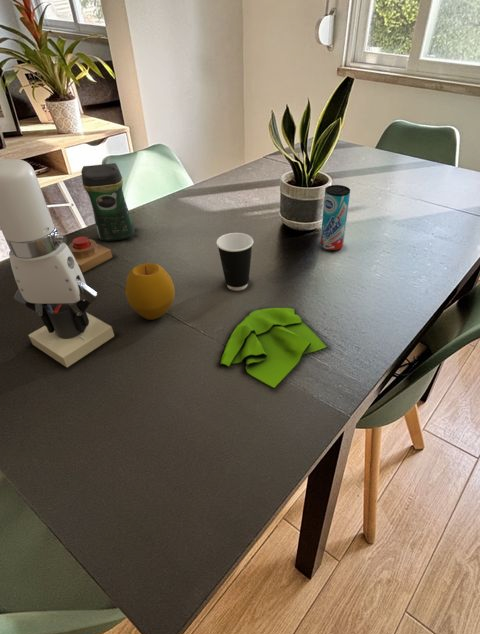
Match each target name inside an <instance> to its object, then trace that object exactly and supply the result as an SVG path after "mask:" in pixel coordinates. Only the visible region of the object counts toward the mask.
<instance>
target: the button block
mask: <svg viewBox="0 0 480 634" xmlns="http://www.w3.org/2000/svg"><path fill="white" fill-rule="evenodd" d="M88 240H89V243H90V247H88V248H86V249H81V250H78V249H75V247H74V244H73V241H72V242H70V243H69V245H67V246H68V248H69V249H70V251H71V252H72V254H73V256H74V258H75V260H76V261H77V264H78V266H79V268H80V270H81V272H82V274H83V273H86V272H87V271H89V270H91V269H93V268H95V267H97V266H99V265H101V264H103V263H104V262H106V261H109V260H110V259H112V258H113V253H112V250H111V249H110V248H107V247H105V246H103V245H101V244H98V243H97V242H96V240H94V239H91V238H88Z"/></svg>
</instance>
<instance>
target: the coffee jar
mask: <svg viewBox="0 0 480 634" xmlns="http://www.w3.org/2000/svg"><path fill="white" fill-rule="evenodd" d="M120 171H121V170H120V169H119V167H118V164H117V163H116V162H115V163H114V162H112V163H103V164H92V165H84V166H82V168H81V172H80V173H81V180H82V181H81V182H82V186H83V188H84V191H85V192H86V193H87V195H88V197H89V200H90V204H91V208H92V212H93V218H94V223H95V227H96V231H97V232H96V233H97V235H98V238H99V239H100V240H101V241H103V242H114V241H121V240H127V239H130V238H132V237H133V236H134V235H135V232H136V230H135V225H134V222H133V220H132V216H131V213H130V211H129V208H128V205H127V202H126V198H125V195H124V191H123V186H124V181H123V176H122V174H121V172H120Z"/></svg>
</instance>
